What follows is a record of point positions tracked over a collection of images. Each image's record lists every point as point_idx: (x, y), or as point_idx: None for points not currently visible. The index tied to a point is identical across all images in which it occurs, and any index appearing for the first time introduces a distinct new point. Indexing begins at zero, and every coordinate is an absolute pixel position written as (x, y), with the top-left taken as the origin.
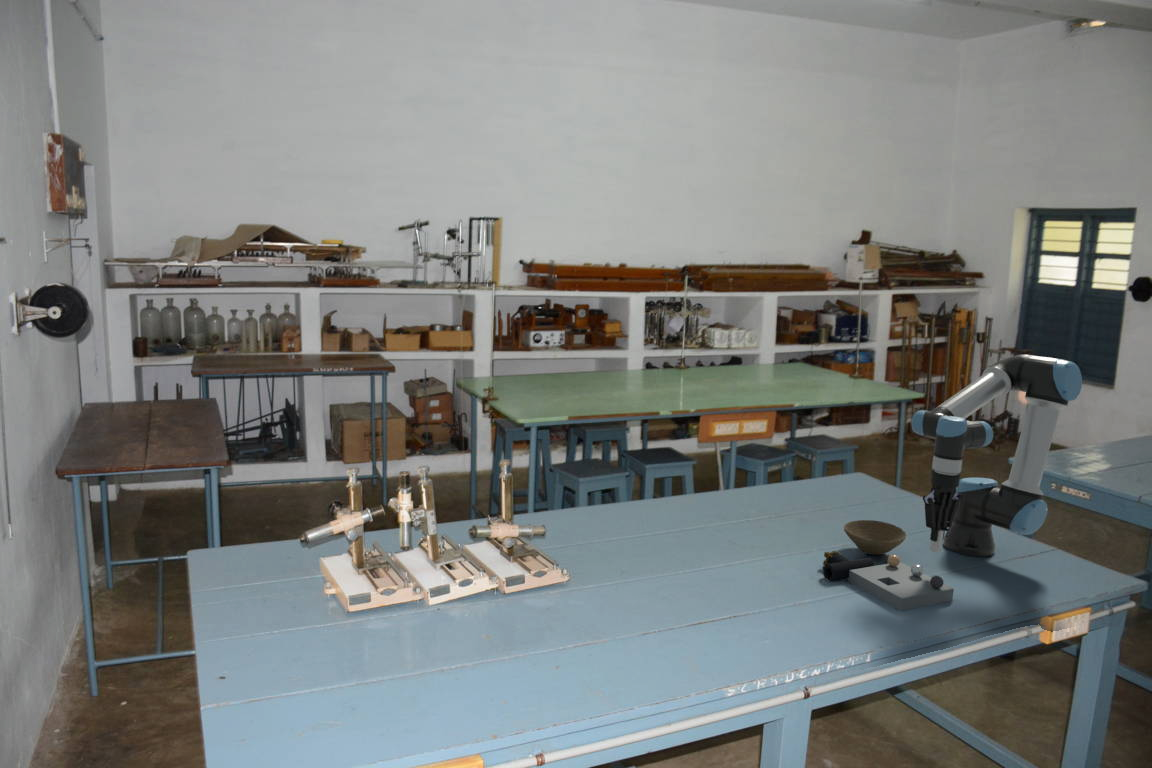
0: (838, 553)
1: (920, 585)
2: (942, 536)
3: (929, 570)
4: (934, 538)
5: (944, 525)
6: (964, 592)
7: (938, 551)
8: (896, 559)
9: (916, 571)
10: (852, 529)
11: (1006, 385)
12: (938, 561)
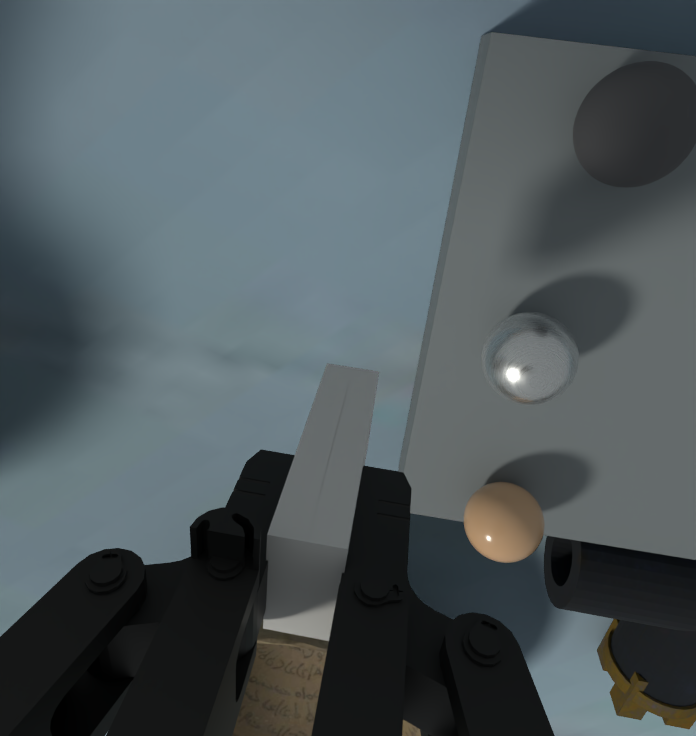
0: (649, 696)
1: (677, 218)
2: (299, 478)
3: (204, 408)
4: (407, 500)
5: (234, 612)
6: (266, 95)
7: (362, 377)
8: (523, 515)
9: (576, 344)
10: None
11: None
12: (64, 449)
